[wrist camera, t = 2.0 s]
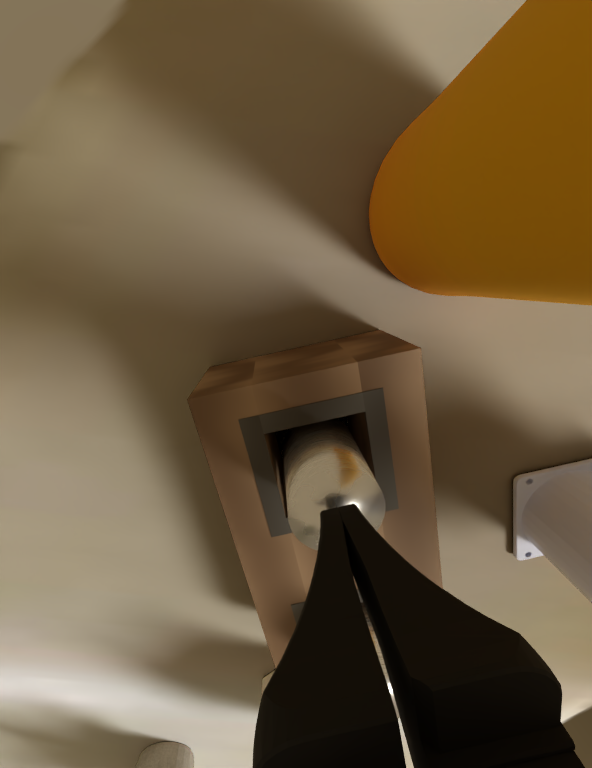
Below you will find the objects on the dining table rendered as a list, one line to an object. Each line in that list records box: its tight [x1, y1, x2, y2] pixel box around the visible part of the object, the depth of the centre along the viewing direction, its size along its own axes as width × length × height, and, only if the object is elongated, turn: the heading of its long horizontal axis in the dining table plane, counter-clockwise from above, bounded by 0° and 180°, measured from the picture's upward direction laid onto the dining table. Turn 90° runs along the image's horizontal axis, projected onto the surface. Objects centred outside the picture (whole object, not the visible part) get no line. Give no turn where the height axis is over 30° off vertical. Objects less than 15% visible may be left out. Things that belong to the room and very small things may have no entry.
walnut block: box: [187, 330, 443, 668], centre depth 21 cm, size 11×22×6 cm, turn 12°
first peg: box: [283, 418, 386, 550], centre depth 16 cm, size 4×4×6 cm
